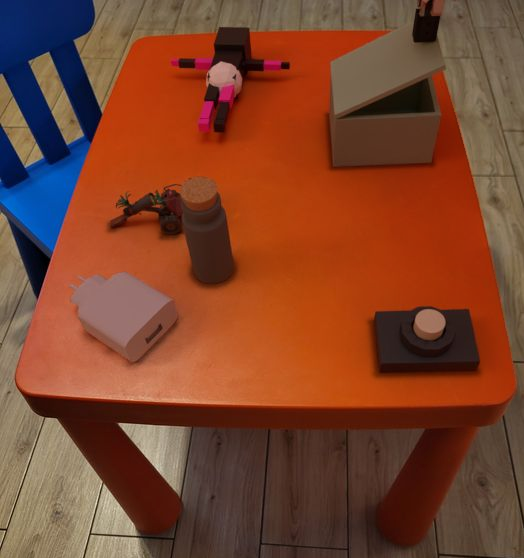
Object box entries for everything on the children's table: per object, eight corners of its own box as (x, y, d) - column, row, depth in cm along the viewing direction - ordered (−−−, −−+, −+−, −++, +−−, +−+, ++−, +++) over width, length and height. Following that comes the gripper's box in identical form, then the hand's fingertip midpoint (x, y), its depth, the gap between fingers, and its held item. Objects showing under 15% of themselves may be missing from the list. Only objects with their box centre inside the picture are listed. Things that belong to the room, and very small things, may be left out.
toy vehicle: (209, 218, 90) (179, 185, 84) (128, 257, 95) (95, 227, 89) (208, 187, 93) (179, 153, 88) (130, 226, 99) (98, 196, 93)
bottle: (233, 284, 86) (220, 205, 73) (191, 284, 86) (172, 206, 74) (234, 252, 89) (223, 172, 77) (195, 253, 90) (177, 173, 77)
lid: (432, 16, 91) (430, 11, 90) (446, 69, 84) (444, 64, 83) (331, 65, 98) (329, 61, 97) (336, 119, 91) (334, 115, 90)
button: (440, 316, 76) (443, 308, 75) (444, 340, 74) (447, 332, 73) (411, 317, 77) (413, 309, 75) (415, 341, 75) (417, 333, 73)
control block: (465, 318, 80) (472, 300, 77) (476, 370, 76) (483, 353, 73) (373, 321, 81) (376, 302, 78) (379, 372, 77) (382, 355, 73)
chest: (420, 109, 104) (428, 61, 97) (431, 162, 97) (441, 115, 90) (329, 113, 105) (330, 66, 98) (333, 166, 98) (335, 119, 91)
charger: (102, 271, 89) (179, 318, 83) (56, 313, 85) (133, 365, 79) (93, 249, 85) (173, 297, 79) (43, 292, 81) (124, 345, 76)
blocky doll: (294, 59, 115) (293, 25, 109) (277, 146, 102) (275, 113, 96) (181, 56, 118) (175, 23, 112) (151, 141, 104) (142, 108, 99)
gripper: (494, -85, 68) (458, 68, 83) (470, -140, 76) (442, 9, 91) (425, -81, 68) (403, 71, 83) (409, -136, 76) (391, 12, 91)
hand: (423, 38), depth 87 cm, fingers closed
